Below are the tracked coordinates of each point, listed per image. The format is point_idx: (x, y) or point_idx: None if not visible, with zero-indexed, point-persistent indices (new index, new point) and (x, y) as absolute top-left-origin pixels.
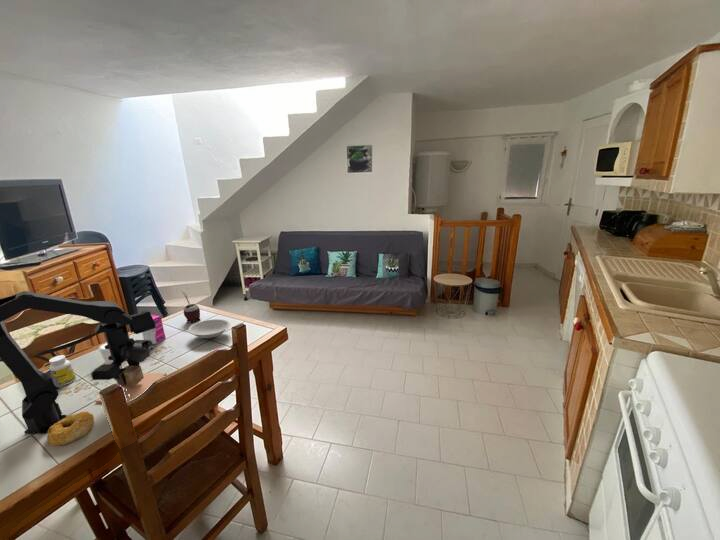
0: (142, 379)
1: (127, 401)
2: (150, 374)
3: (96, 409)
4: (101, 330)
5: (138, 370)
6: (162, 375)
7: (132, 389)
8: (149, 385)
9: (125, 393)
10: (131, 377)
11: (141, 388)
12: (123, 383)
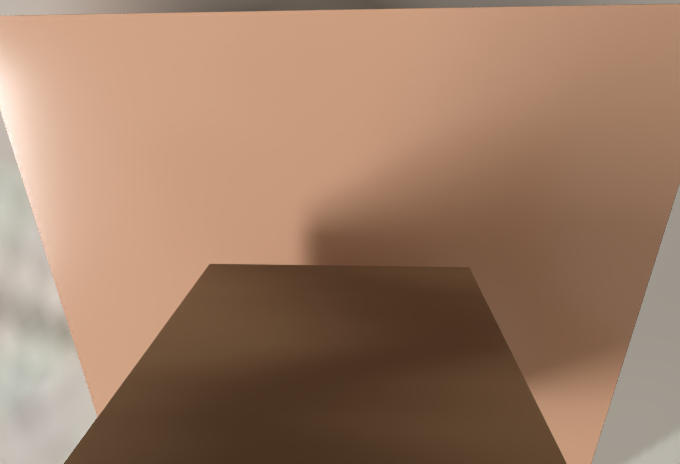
0: None
1: (668, 186)
2: (81, 256)
3: (675, 439)
4: None
5: (200, 436)
6: (43, 33)
7: None
8: (319, 86)
9: None
10: (502, 423)
11: (394, 171)
12: None
